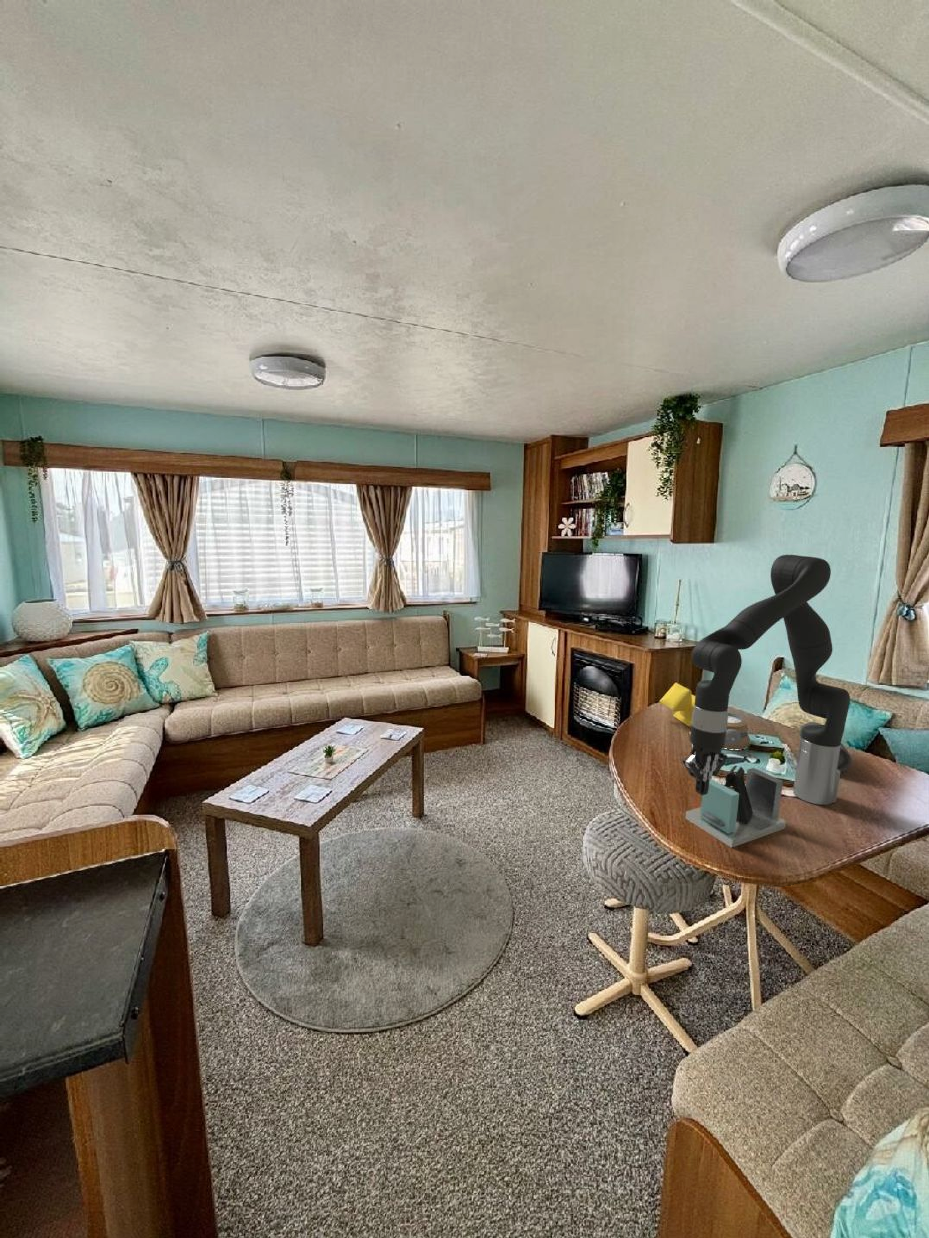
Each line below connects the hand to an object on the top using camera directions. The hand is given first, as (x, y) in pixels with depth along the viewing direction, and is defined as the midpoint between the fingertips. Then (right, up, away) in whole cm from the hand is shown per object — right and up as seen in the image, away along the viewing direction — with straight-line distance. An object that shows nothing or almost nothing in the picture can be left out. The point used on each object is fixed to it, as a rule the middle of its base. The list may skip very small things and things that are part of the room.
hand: (701, 793), depth 119 cm
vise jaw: (+6, -9, +4) cm, 12 cm away
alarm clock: (+35, -3, +59) cm, 69 cm away
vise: (+14, -11, +8) cm, 19 cm away
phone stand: (+13, -9, +10) cm, 18 cm away
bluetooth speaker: (+63, -6, +46) cm, 78 cm away
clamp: (+36, 0, +79) cm, 87 cm away
